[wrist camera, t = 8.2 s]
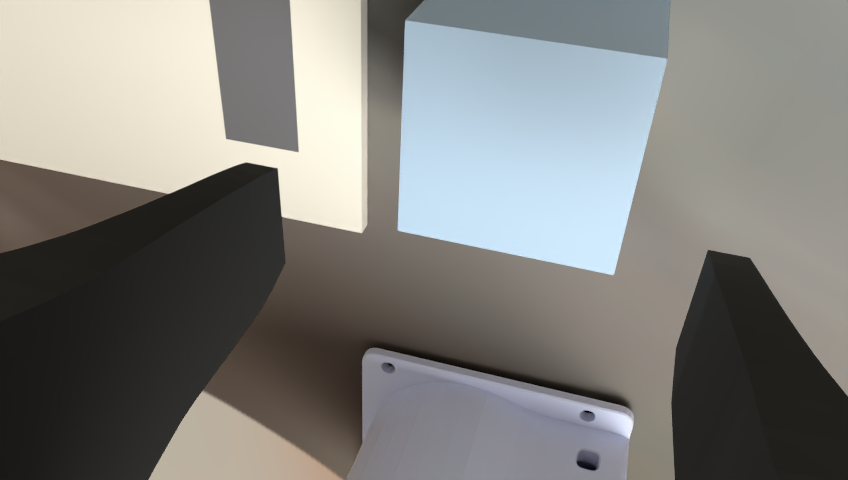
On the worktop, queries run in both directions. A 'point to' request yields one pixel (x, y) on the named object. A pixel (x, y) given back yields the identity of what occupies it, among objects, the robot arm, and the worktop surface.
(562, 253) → the blue cube
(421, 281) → the worktop surface
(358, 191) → the letter board
